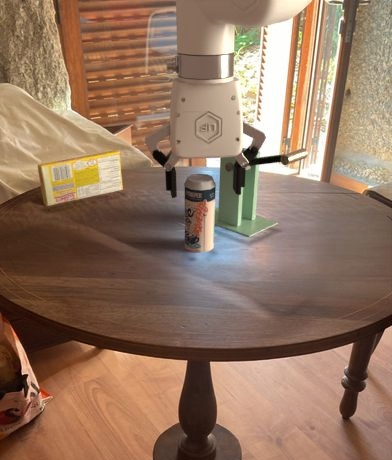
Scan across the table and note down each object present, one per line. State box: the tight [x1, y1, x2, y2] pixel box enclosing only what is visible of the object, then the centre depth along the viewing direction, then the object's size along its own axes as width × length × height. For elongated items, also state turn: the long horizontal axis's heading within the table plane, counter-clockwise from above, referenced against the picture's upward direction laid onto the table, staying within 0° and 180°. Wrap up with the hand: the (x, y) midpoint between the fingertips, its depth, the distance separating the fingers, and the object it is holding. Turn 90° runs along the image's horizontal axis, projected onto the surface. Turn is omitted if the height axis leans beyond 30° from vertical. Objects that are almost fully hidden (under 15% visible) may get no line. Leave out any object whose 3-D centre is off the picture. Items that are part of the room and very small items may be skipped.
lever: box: [246, 147, 309, 170], centre depth 91 cm, size 13×5×2 cm, turn 47°
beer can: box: [183, 173, 217, 253], centre depth 88 cm, size 5×5×12 cm
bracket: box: [214, 147, 279, 238], centre depth 97 cm, size 12×8×13 cm, turn 47°
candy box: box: [37, 149, 124, 211], centre depth 108 cm, size 16×2×8 cm, turn 126°
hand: (205, 193), depth 85 cm, fingers open, 9 cm apart
